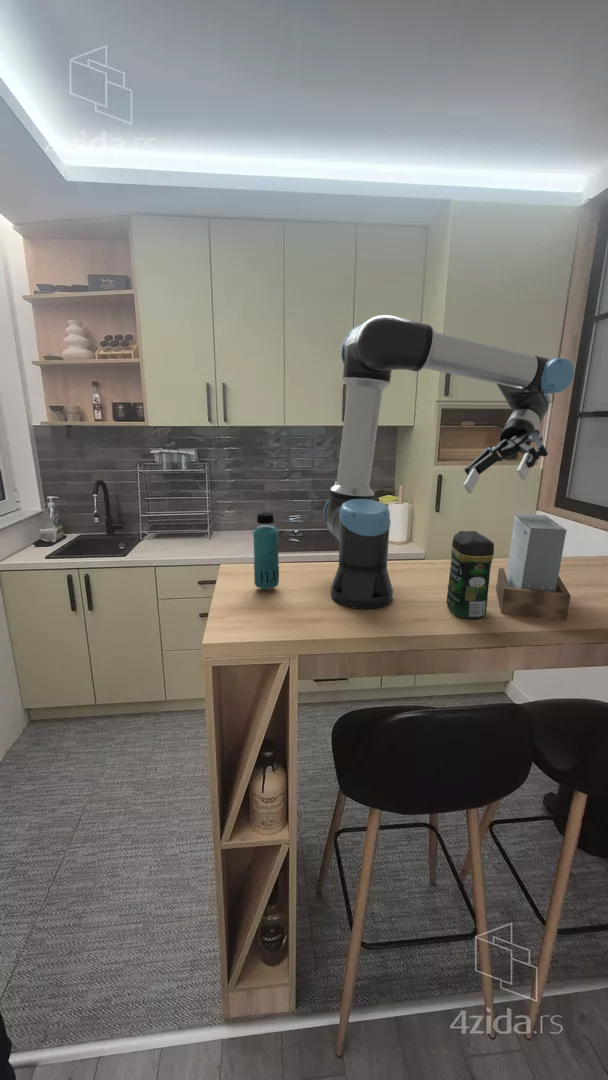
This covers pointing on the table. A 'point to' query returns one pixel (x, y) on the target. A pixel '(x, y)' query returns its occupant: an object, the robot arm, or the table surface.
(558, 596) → the walnut crate
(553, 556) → the hard drive box
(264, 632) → the table surface
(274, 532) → the beverage bottle
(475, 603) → the coffee jar
